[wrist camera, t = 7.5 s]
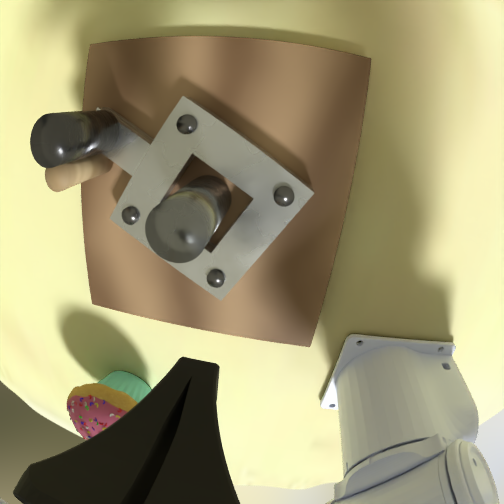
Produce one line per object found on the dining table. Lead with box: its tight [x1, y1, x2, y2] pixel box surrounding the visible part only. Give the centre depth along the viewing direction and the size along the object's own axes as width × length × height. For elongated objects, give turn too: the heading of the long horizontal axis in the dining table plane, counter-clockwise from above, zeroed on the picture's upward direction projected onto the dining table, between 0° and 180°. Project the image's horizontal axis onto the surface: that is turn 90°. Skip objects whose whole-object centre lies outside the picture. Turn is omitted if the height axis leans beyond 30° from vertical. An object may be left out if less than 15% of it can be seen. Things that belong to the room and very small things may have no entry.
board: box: [81, 36, 371, 347], centre depth 18 cm, size 16×18×1 cm
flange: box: [30, 96, 314, 301], centre depth 14 cm, size 12×8×6 cm, turn 53°
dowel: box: [45, 153, 113, 192], centre depth 15 cm, size 2×2×4 cm
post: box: [145, 175, 231, 263], centre depth 15 cm, size 3×3×6 cm
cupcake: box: [67, 371, 151, 440], centre depth 21 cm, size 9×8×12 cm
